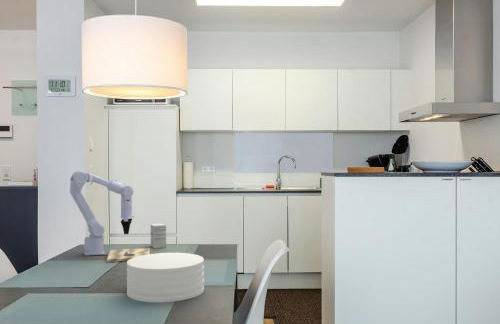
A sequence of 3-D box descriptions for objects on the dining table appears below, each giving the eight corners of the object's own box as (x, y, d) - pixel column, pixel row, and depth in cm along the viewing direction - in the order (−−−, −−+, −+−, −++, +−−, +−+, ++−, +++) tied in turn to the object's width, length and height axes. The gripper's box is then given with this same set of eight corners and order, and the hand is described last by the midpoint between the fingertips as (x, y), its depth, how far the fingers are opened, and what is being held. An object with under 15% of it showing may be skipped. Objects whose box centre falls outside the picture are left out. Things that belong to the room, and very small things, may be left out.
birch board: (106, 262, 215) (106, 259, 215) (110, 252, 238) (110, 249, 238) (149, 260, 220) (149, 257, 220) (149, 250, 243) (149, 248, 243)
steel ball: (123, 257, 224) (125, 256, 222) (123, 251, 225) (126, 250, 223) (128, 258, 226) (131, 257, 223) (129, 252, 227) (132, 251, 225)
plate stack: (170, 277, 187) (170, 249, 187) (219, 289, 169) (219, 258, 169) (111, 292, 165) (111, 261, 165) (161, 308, 148) (160, 273, 148)
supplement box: (150, 246, 257) (150, 224, 257) (163, 245, 260) (163, 223, 260) (153, 248, 250) (153, 225, 250) (166, 247, 253) (166, 224, 253)
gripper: (133, 209, 238) (133, 234, 238) (134, 206, 252) (134, 230, 252) (119, 209, 236) (119, 235, 236) (121, 206, 251) (121, 231, 251)
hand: (126, 233), depth 244 cm, fingers open, 7 cm apart
